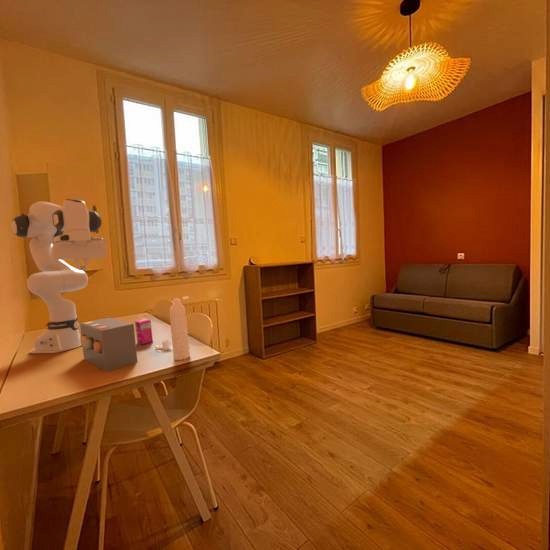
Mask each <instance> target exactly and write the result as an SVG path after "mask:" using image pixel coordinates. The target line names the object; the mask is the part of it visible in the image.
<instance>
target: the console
mask: <svg viewBox="0 0 550 550" xmlns="http://www.w3.org/2000/svg"><path fill="white" fill-rule="evenodd" d="M79 328H80V337H82V336H87V339H92V340H93V343H94V342H98V341H100V342H101V352H97V353H95V351H94V348H92V349H88V350H84V349H83V348H82V353H83V360H85V361H87V362H88V363H90V364H91V365H94V366H95V367H97V368H99V369H100V370H102V371H103V372H110V371H113V370H116V369H119V368H122V367H126V366H129V365H132V364H136V363H138V353H137V345H136V344H137V342H136V335H135V334H136V332H135V323H132V322H128V321H123V320H120V319H115V318H112V317H105V318H100V319H95V320H89V321H84V322H80V323H79Z"/></svg>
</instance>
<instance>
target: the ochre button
mask: <svg viewBox="0 0 550 550" xmlns="http://www.w3.org/2000/svg"><path fill="white" fill-rule="evenodd" d="M80 337H81V336H80ZM83 340H87V336H82V337H81V338H80V341H81V345H82V341H83Z"/></svg>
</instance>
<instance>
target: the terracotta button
mask: <svg viewBox="0 0 550 550" xmlns="http://www.w3.org/2000/svg"><path fill="white" fill-rule="evenodd" d="M93 348H94V351H95V353H97V352H101V342H100V341H98V342H94V343H93Z"/></svg>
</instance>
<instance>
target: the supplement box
mask: <svg viewBox="0 0 550 550" xmlns="http://www.w3.org/2000/svg"><path fill="white" fill-rule="evenodd" d="M134 328H135V334H136V335H135V337H136V344H138V345H140V346H144V345H148V344H153V343H154V341H153V331H152V330H153V329H152V322H151V320H150V319H147V318H145V319H141V320H140V319H139V320H136V321H134Z"/></svg>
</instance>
